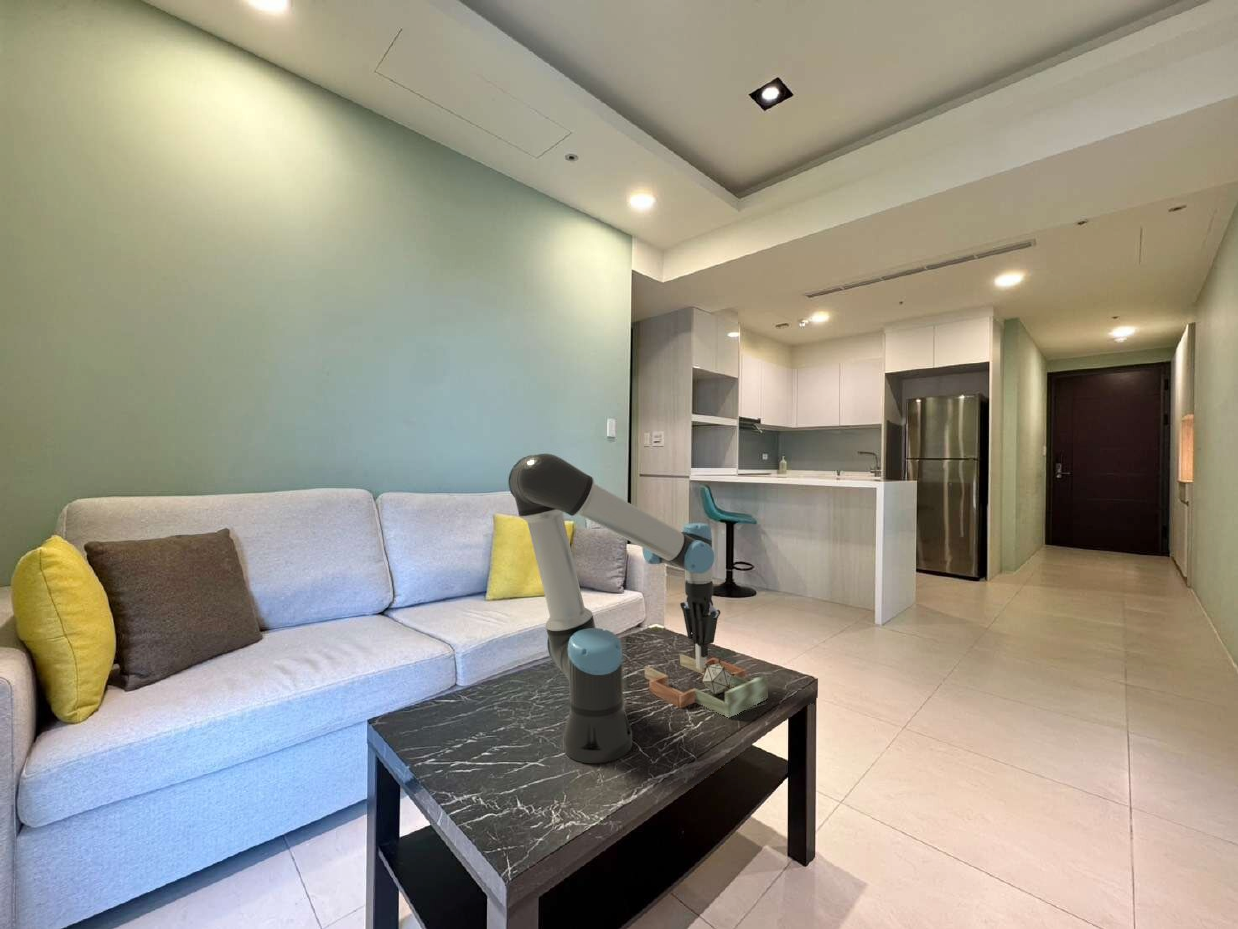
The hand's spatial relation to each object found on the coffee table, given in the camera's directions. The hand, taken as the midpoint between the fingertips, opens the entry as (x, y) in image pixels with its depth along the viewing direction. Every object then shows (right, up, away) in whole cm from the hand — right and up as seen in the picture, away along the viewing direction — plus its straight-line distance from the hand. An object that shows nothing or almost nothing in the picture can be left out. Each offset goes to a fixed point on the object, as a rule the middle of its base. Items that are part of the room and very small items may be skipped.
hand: (701, 667), depth 135 cm
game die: (+4, -5, -4) cm, 8 cm away
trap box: (0, -5, 0) cm, 5 cm away
